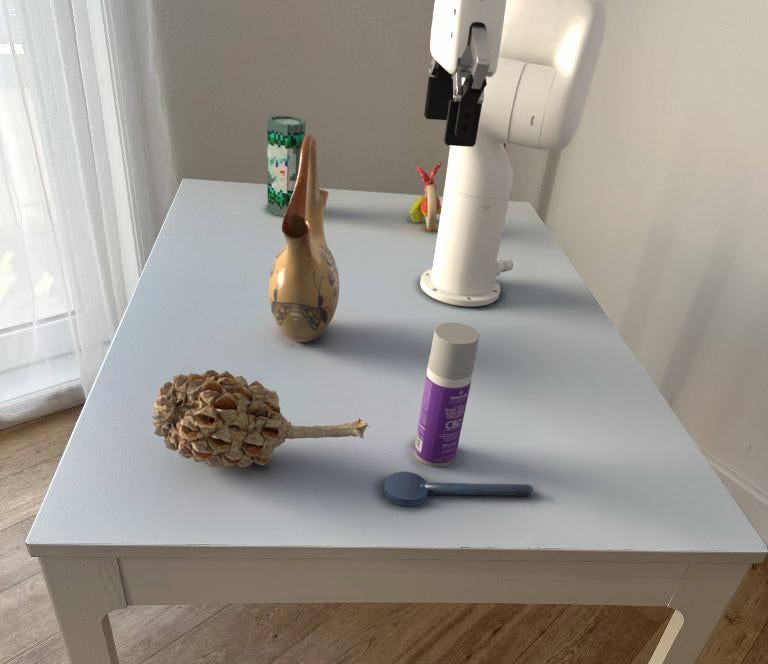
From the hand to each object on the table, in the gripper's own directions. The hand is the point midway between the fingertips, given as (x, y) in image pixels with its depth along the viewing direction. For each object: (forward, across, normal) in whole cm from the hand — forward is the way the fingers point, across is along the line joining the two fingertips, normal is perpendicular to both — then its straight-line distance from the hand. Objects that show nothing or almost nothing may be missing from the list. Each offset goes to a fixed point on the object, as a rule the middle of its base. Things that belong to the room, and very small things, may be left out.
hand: (448, 131), depth 78 cm
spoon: (+28, -26, +1) cm, 39 cm away
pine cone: (+28, -20, +20) cm, 40 cm away
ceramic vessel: (+28, +8, +14) cm, 33 cm away
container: (+28, -19, +2) cm, 34 cm away
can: (+28, +55, +13) cm, 63 cm away
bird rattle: (+28, +50, -13) cm, 59 cm away
